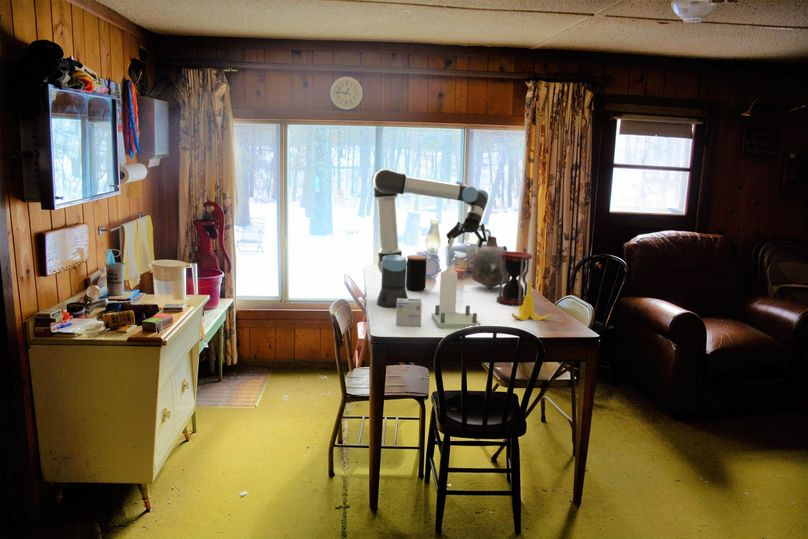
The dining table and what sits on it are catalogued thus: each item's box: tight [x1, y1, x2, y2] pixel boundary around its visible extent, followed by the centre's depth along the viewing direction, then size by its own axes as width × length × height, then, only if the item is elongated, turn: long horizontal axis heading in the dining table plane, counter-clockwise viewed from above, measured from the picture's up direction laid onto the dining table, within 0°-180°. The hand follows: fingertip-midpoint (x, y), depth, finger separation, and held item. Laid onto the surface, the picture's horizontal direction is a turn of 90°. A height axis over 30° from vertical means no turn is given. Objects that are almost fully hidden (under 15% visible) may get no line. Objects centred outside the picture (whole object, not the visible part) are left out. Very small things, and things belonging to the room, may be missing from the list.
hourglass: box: [496, 250, 533, 307], centre depth 323 cm, size 16×16×25 cm
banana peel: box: [510, 282, 552, 321], centre depth 291 cm, size 17×19×17 cm
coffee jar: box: [405, 254, 428, 292], centre depth 345 cm, size 11×11×18 cm
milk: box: [438, 265, 458, 313], centre depth 296 cm, size 6×6×22 cm
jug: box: [471, 234, 508, 289], centre depth 355 cm, size 24×21×30 cm
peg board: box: [431, 304, 481, 329], centre depth 279 cm, size 18×18×6 cm
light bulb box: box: [395, 298, 423, 327], centre depth 273 cm, size 11×7×11 cm, turn 92°
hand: (462, 250), depth 304 cm, fingers open, 13 cm apart
